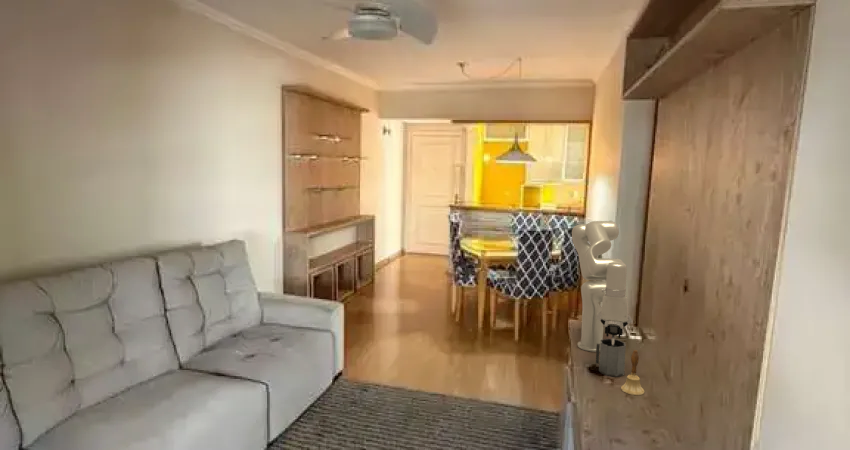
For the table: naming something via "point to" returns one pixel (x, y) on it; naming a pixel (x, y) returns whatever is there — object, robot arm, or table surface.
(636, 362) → the hand bell
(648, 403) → the table surface
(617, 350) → the grey octagonal cup
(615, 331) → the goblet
